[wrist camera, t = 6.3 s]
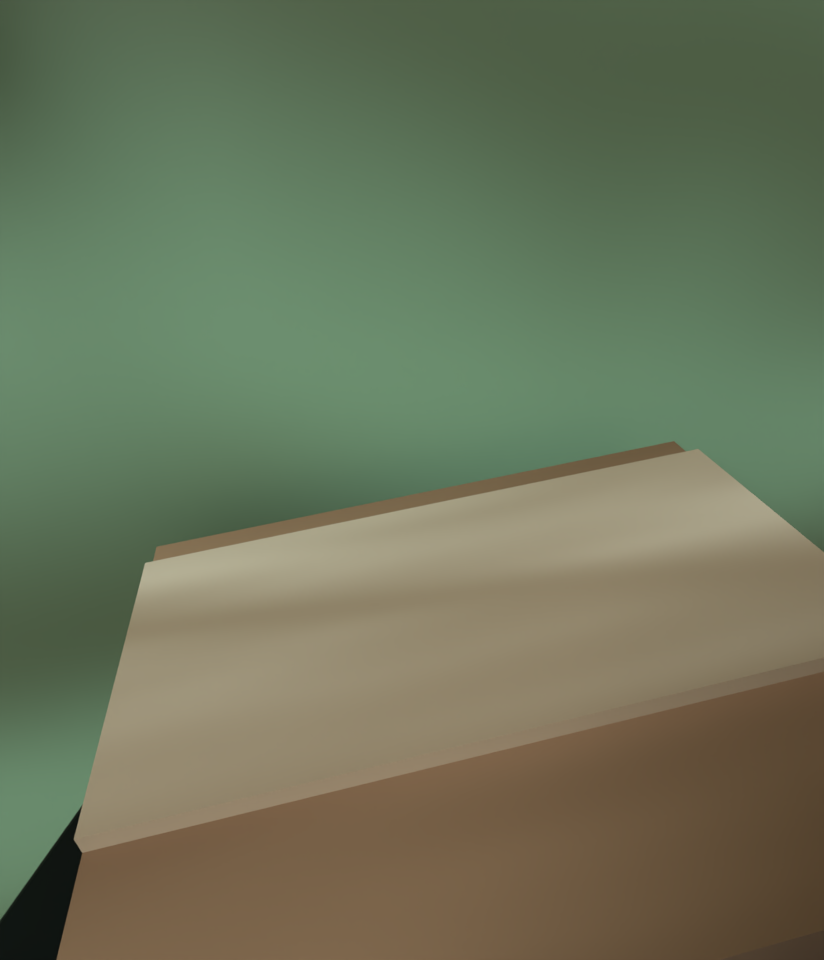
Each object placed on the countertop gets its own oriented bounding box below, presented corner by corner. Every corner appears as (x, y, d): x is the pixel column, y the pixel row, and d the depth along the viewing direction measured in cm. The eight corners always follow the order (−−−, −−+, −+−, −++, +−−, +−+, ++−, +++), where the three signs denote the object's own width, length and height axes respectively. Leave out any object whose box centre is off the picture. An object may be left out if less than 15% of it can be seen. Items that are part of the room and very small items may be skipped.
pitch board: (833, 744, 17) (914, 838, 15) (-91, 973, 15) (-152, 1120, 13) (1159, -352, 8) (1511, -529, 5) (-1227, -135, 6) (-2179, -278, 3)
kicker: (653, 680, 10) (941, 1117, 6) (246, 778, 9) (230, 1342, 5) (674, 430, 8) (1154, 824, 4) (152, 534, 7) (-9, 1151, 3)
